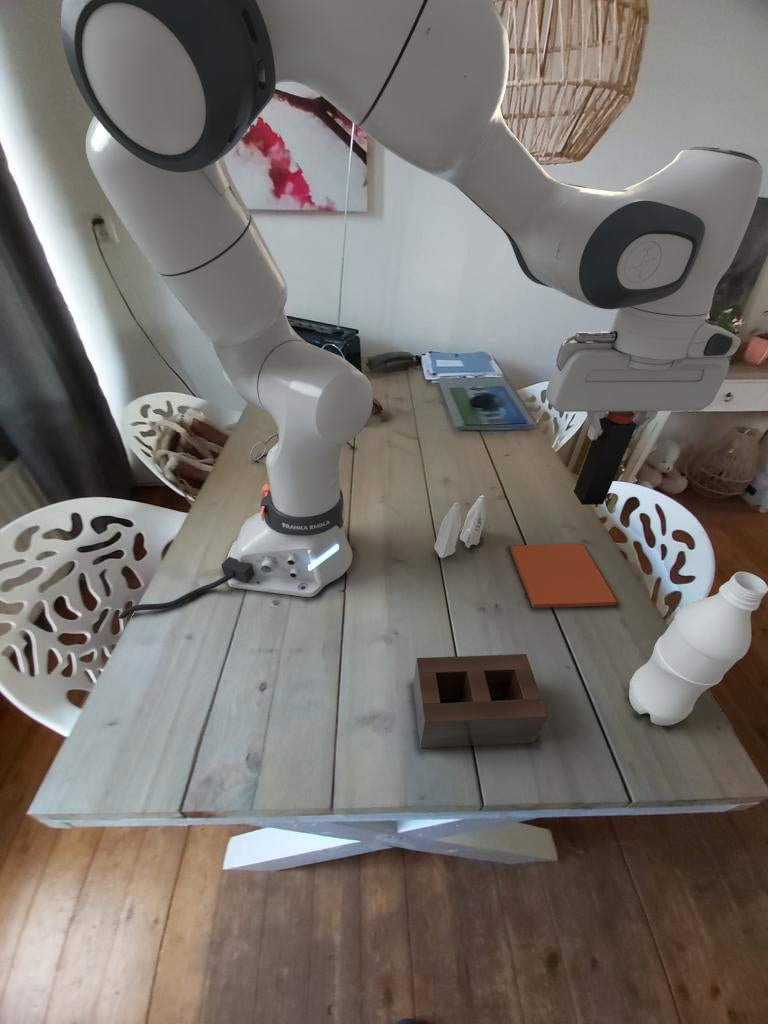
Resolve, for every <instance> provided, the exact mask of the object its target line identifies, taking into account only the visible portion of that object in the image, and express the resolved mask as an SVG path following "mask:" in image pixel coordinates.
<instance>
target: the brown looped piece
mask: <svg viewBox="0 0 768 1024" xmlns="http://www.w3.org/2000/svg"><path fill="white" fill-rule="evenodd" d="M371 413H373V414H378V415H380V417H381V420H382V422H384V421H385V414H384V410H383V407H382V405H381V403H380V401H379V400H378V399H377V398H376V397H374V396H373V407H372V412H371Z"/></svg>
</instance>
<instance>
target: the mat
mask: <svg viewBox="0 0 768 1024" xmlns="http://www.w3.org/2000/svg"><path fill="white" fill-rule="evenodd" d="M509 550H510V553H511V556H512V558H513V561H514V563H515V566H516V569H517V571H518V573H519V576H520V578H521V581H522V584H523V585H524V588H525V591H526V594H527V596H528V599H529V601H530V603H531V604H530V605H531V606H532V608H533V609H543V608H544V609H546V608H550V609H551V608H579V607H580V608H581V607H582V608H583V607H608V606H609V607H611V606H616V604H617V603H618V601H617V599H616V597H615V596H614V594H613V593H612V591H611V589H610V586H608V584H607V583H606V582H607V581H606V580H605V579H604V577H603V575H602V574H601V572H600V570H599V569H598V567H597V565H596V564H595V562H594V560H593V559H592V557H591V555H590V553H589V552H588V550H587V548H586V547H585V545H584V544H583V543H568V544H567V543H566V544H565V543H564V544H563V543H561V544H519V545H518V544H516V545H510V548H509Z"/></svg>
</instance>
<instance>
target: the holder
mask: <svg viewBox="0 0 768 1024" xmlns="http://www.w3.org/2000/svg"><path fill="white" fill-rule="evenodd" d="M412 687H413V693H414V695H413V696H414V705H415V715H416V722H417V731H418V739H419V748H420V749H432V748H433V749H434V748H436V749H437V748H454V747H475V746H476V747H477V746H494V745H495V746H496V745H497V746H498V745H515V744H516V745H517V744H518V745H519V744H535V742H536V740H537V738H538V736H539V734H540V733H541V730H542V729H543V726H544V725H545V723H546V721H547V719H548V717H549V716H548V713H547V710H546V707H545V704H544V700H543V698H542V696H541V693H540V690H539V686H538V683H537V681H536V678H535V675H534V672H533V670H532V666H531V663H530V661H529V658H528V655H527V654H526V653H513V654H488V655H486V654H485V655H460V656H433V657H432V656H431V657H429V656H428V657H417V658H416V660H415V668H414V676H413V686H412ZM492 698H504V700H492ZM441 700H459V702H441Z"/></svg>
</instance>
